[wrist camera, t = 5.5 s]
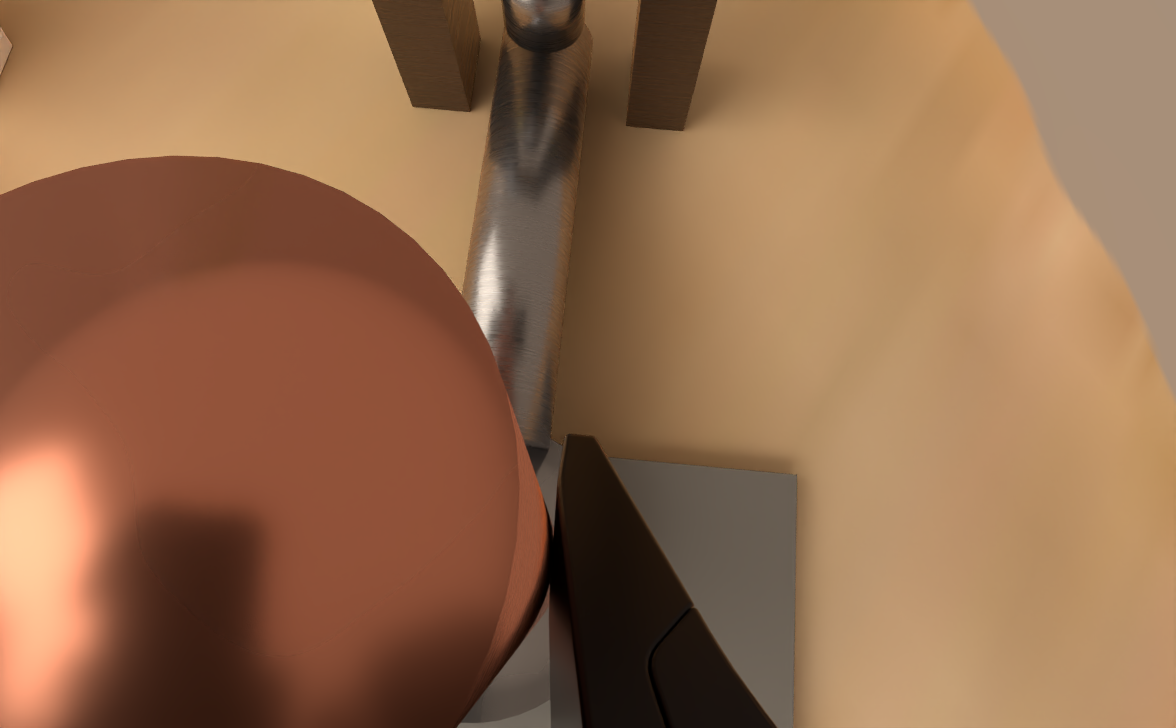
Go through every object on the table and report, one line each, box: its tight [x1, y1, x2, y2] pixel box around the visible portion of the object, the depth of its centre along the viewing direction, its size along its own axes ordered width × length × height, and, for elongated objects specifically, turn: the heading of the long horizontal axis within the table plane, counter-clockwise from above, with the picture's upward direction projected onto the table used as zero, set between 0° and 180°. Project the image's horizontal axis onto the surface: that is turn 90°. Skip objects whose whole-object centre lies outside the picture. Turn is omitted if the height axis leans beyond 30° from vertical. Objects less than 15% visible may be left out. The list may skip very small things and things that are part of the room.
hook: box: [0, 0, 593, 728], centre depth 11 cm, size 17×6×13 cm, turn 175°
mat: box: [457, 457, 797, 728], centre depth 15 cm, size 12×14×1 cm
